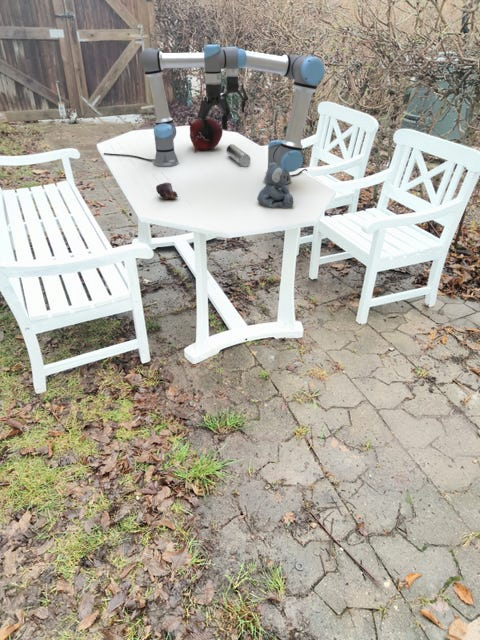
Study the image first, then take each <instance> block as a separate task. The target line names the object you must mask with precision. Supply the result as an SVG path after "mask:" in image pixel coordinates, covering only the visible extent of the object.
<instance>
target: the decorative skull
mask: <svg viewBox="0 0 480 640" xmlns="http://www.w3.org/2000/svg"><path fill="white" fill-rule="evenodd" d="M206 120H207V129H208V134H203V128H202V124H201V119H199V118H198V119H197V120H195V121H194V122H191V121H190V119H188V120H187V122H188V124H189V138H190V141H191V143H192V146H193V147H194V153H197V150H204V151H207V150H212V149H214V148H215V147H217V146H218V145H219V143H220V141H221V140H222V137H223V133H224V132H223V129H222V125H220V124H219V123H218V122H217V121H216V120H214V118H210V117H206Z"/></svg>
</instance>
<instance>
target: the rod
mask: <svg viewBox="0 0 480 640" xmlns="http://www.w3.org/2000/svg"><path fill="white" fill-rule="evenodd" d="M225 153H226V155H228V156H229V157H230V159H232V160H234V162H236V163H237V164H239V165H240V166H241V167H243V168H246V167H248V166H249V165H250V163H251V157H250V155H249V154H247V152H245V151H244V150H242V149H241V148H240V147H238V146H236V145H235V144H229V145H227V147H226V152H225Z"/></svg>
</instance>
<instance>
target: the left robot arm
mask: <svg viewBox="0 0 480 640" xmlns="http://www.w3.org/2000/svg"><path fill="white" fill-rule="evenodd" d="M225 47H226V48H231V49H239V48H238V47H237V46H225ZM138 62H139V66H140V67H141V68H142V70H143V72H144V76H145V77H147V79H148V84H149V87H150V92H151V97H152V102H153V107H154V112H155V117H156V120H155V121H154V122H155V123H154V124H155V125H154V127H153V135H154V145H155V155H154V158H153V159H151V158H146V157H143V156H142V157H141V156H139V155H133V154H123V153H109V152H103V155H106V156H107V155H108V156H122V157H130V158H131V157H132V158H138V159H140V160H145V161H148V162H149V161H150V162H154V165H155V166H157V167H163V168H164V167H165V168H167V167H168V168H169V167H174V166H177V165H178V164H179V159H178V157H177V153H176V151H175V143H174V139H175V138H176V135H177V128H176V126H175V124H174V123H175V122H174V119H173V117H171V113H170V109H169V103H168V100H167V94H166V89H165V85H164V79H163V74H164V69H190V68H191V69H192V68H193V69H194V68H196V69H197V68H205V63H204V52H162V51H160V50H158V49H157V48H154V47H146V48H145V49H143V50H142V51H141V52H140V54H139V56H138ZM225 75H226V77H225V79H226V80H225V81H226V85H224V84H221V86H222V92H221V93H224V92H225V94H226V98H227V97H228V95H229V94H232V93H234V94H237V95H238V96H239V98H240V99H241V100H242V101H241V113H242V114H244V113H245V107H246V102H247V101H248V100H249V97H248V94H247V93H246V90H245V86H244V84H243V83H240V84H239V68H225ZM239 89H240V90H239ZM225 90H226V91H225ZM240 91H241V92H240ZM220 100H221V99H220ZM222 104H223V103H222ZM221 114H222V115H224V114H223V113H222V112H221Z"/></svg>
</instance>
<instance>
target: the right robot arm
mask: <svg viewBox="0 0 480 640" xmlns="http://www.w3.org/2000/svg"><path fill="white" fill-rule="evenodd" d="M226 47H227V46H222V47H221V45H220V44H206V45H205V46H204V47H203V53H204V63H205V67H204V83H205V85H204V86H205V93H206V95H205V96H204V95H202V96H201V102H200V106H199V110H198V114H197V119H198V120H199V119H201V124H202V128H203V134H208V129H207V120H206V118H208V115H209V113H210V111H211V110H212V108H213V107H214V106H217V107H218V109H219V110H220V112H221V114H222V113H223V114H222V115H221V128H222V130H224V131H227V130H228V119H229V117H228V116H230V114H231V113H232V111H231V108H230V105H229V103H228V99H227V97H226V94H225V93H224V92H223V93H221V92H222V69H226V68H238V69H247V70H253V71H260V72H266V73H273V74H279V75H280V76H281V77H283V78H284V77H285V78H288V79H290V80H293V87H294V89H295V91H294V95H293V100H292V104H291V109H290V113H289V119H288V123H287V128H286V131H285V132H286V133H285V137H284V139H274V140H269V142H268V147H267V169H266V171H265V176H264V177H263V178H264V184H266V176H267V172H268V169H269V165H270V164H271V163H276V165H277V166H280V167H281V168H282V169H283V171H284V172H285V174H286V176H288V178H289V179H288V181H287V182H286V183H285V185H286V186H287V185H290V184H291V180H292V177H295V176H299V175H300V174H301V173H302V172H304V171H306V172H308V169H306V168H304V169H302V170H300V171H299V172H298V173H295V174H290V173H293V172H296V171H298V170H299V169H300V168H301V167H302V165H303V162H304V156H303V154H302V151H303V145H302V142H301V141H302V138H303V133H304V130H305V125H306V121H307V117H308V113H309V109H310V104H311V100H312V96H313V93H314V92H316V91H317V88H318V85H319V84H320V83H321V82H322V80H323V79H324V77H325V66H324V64H323V62H322V60H321V59H319V58H318V57H315V56H309V55H303V54H301V55H300V54H297V55H294V54H293V55H291V54H290V55H289V54H283V55H282V56H281V55H274V54H270V53H261V52H256V51H249V50H245V48H244V49H243V48H238V49H231V48H226ZM220 99H221V100H220ZM222 103H223V104H222ZM285 185H284V186H285Z"/></svg>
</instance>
